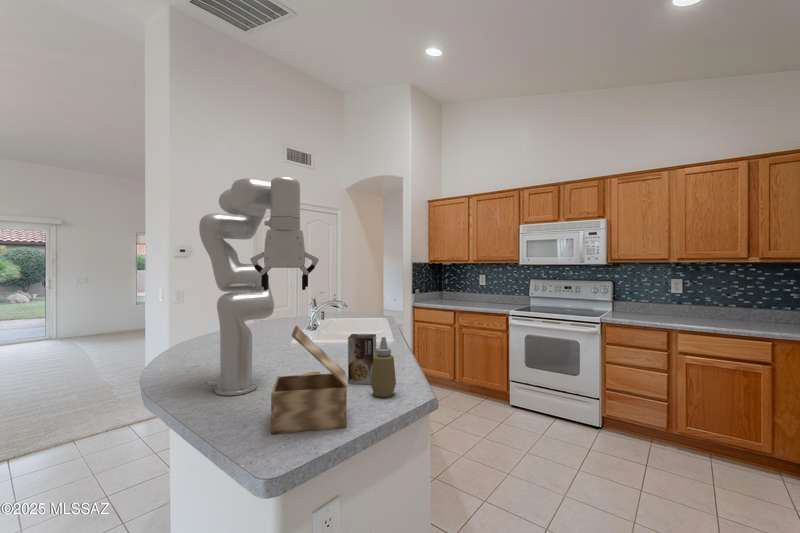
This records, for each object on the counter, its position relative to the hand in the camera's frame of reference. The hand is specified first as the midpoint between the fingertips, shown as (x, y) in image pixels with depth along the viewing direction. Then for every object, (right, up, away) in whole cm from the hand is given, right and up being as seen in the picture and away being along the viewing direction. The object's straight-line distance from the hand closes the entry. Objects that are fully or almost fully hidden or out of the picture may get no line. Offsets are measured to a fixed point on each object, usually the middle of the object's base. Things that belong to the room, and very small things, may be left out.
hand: (285, 289), depth 97 cm
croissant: (+2, -34, +19) cm, 39 cm away
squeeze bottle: (+25, -34, +18) cm, 46 cm away
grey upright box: (+17, -34, +31) cm, 49 cm away
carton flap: (+9, -17, 0) cm, 20 cm away
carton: (+7, -34, -1) cm, 35 cm away
